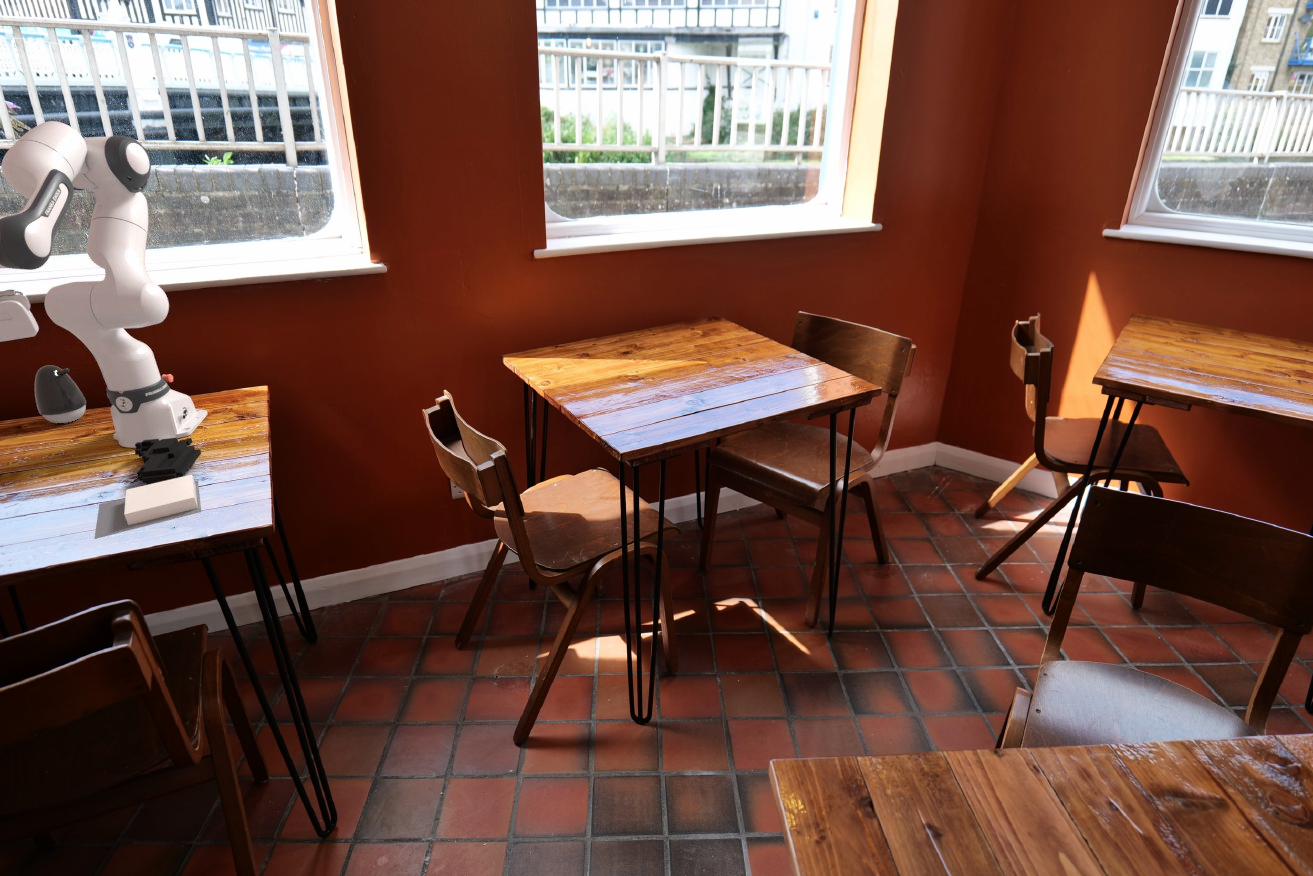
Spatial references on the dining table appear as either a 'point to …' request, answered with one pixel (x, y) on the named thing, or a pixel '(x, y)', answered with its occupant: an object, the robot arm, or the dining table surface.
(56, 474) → the dining table surface
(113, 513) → the mat
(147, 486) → the tile
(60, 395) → the penguin toy figure
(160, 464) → the tool
